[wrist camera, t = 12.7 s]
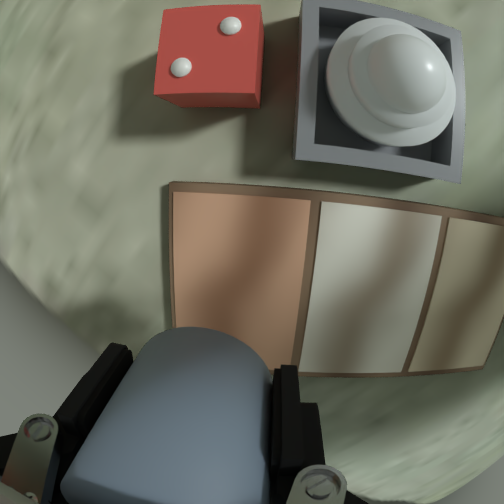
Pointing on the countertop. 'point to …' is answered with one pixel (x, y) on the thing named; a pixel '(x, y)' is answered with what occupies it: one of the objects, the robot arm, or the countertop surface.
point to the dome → (389, 83)
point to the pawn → (181, 427)
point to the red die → (211, 56)
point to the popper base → (329, 125)
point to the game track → (337, 278)
